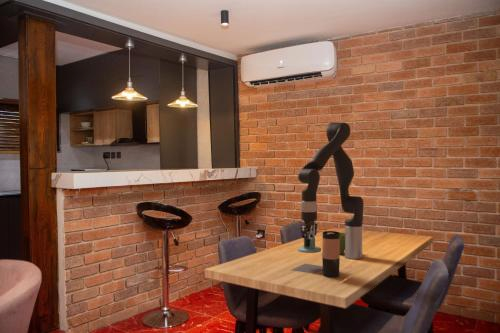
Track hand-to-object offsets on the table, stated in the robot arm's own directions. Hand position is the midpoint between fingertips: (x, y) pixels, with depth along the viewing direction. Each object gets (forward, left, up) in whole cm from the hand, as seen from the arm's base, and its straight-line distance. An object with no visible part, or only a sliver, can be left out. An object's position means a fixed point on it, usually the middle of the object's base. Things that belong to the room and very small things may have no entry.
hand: (309, 245), depth 196 cm
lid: (0, 0, -2) cm, 2 cm away
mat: (0, 0, -11) cm, 11 cm away
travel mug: (+6, +14, -12) cm, 19 cm away
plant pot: (-42, -2, -12) cm, 43 cm away
